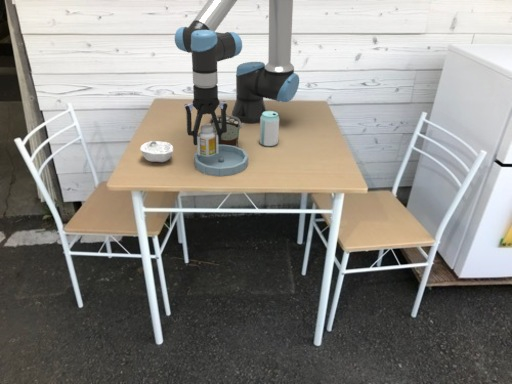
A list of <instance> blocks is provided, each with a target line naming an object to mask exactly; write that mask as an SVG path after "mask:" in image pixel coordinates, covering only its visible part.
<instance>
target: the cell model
mask: <svg viewBox="0 0 512 384" xmlns="http://www.w3.org/2000/svg"><path fill="white" fill-rule="evenodd" d="M139 150H140V152H141V153H142V156H143V158H144V159H145V160H146V161H148V162H151V163H152V162H154V163H155V162H156V163H157V162H158V163H165V162H167V161H168V160H169V159H171V157H172V154H173V152H174V146H173V145H172V144H171V143H170V142H168V141H158V140H150V141H147V142H144V143H143V144H141V145H140V148H139Z"/></svg>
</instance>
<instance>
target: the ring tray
mask: <svg viewBox="0 0 512 384" xmlns="http://www.w3.org/2000/svg"><path fill="white" fill-rule="evenodd" d="M218 153H219V154H216V153H215V155H213V156H209V157H205V156H202V155H201V154H200V155H198V154H197V151H196V152H195V153H194V154H193V163H194V167H195V169H196V170H198V171H199V172H200V173H202V174H204V175H207V176H215V177H227V176H234V175H237V174H239V173H241V172H243V171H245V170H246V169H247V166H248V165H249V155H248V153H247V152H246V150H245V149H243V148H240V147H238V146H237V147H236V146H231V145H224V144H223V145H222V144H221V145H218Z"/></svg>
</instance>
